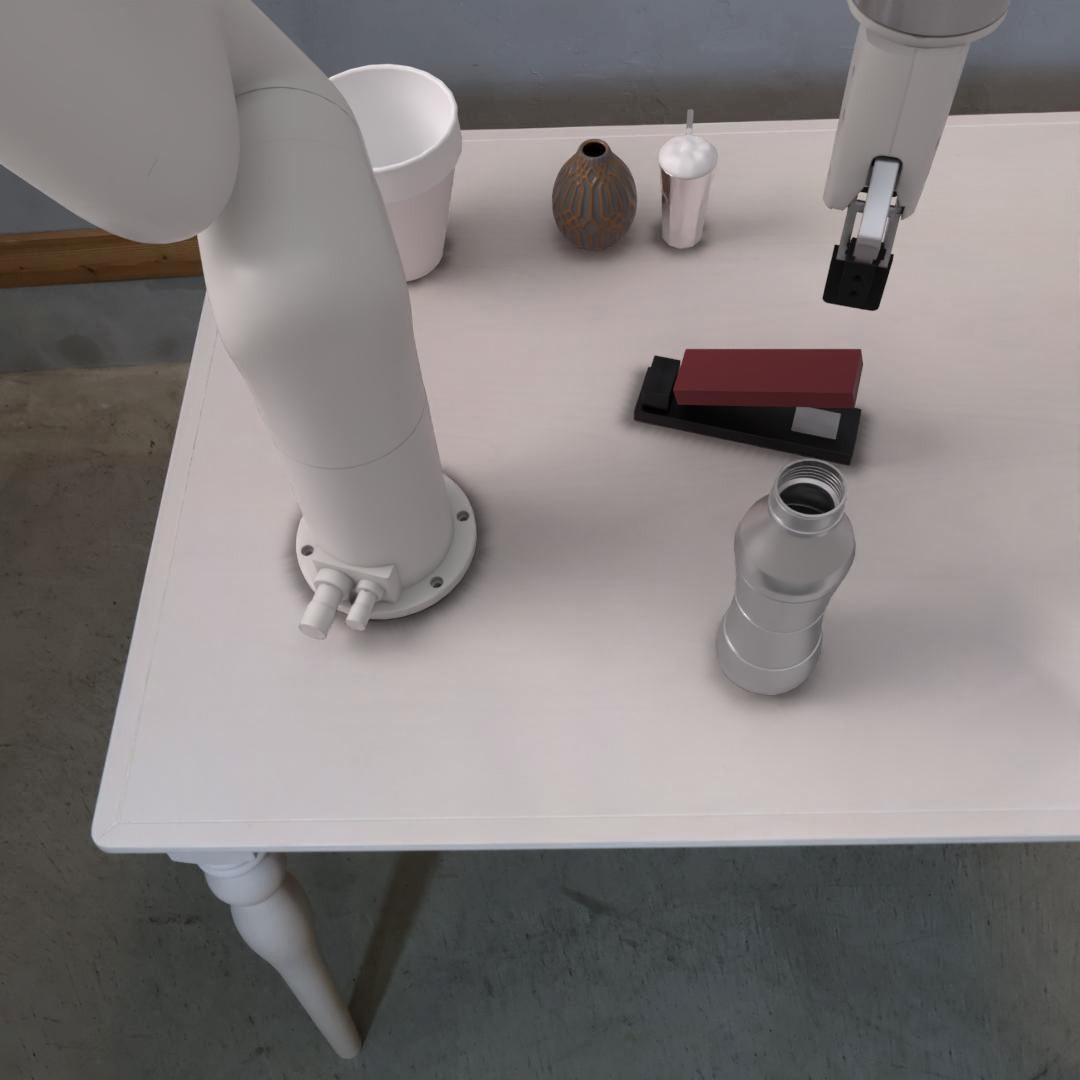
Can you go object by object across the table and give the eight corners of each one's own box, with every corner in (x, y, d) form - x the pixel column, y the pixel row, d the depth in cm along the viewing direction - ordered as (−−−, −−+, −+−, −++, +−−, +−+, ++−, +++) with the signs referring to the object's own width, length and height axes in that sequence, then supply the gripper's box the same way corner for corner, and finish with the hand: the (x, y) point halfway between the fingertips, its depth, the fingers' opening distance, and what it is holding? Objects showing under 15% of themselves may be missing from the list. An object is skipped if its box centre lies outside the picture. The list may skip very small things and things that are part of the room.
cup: (311, 228, 96) (271, 91, 85) (445, 185, 98) (424, 45, 87) (356, 326, 90) (320, 192, 79) (498, 277, 92) (483, 140, 81)
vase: (540, 220, 96) (535, 134, 88) (614, 196, 97) (615, 109, 89) (573, 273, 92) (570, 189, 85) (649, 248, 93) (654, 162, 86)
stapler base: (858, 418, 83) (867, 392, 81) (849, 465, 81) (857, 440, 78) (647, 376, 86) (649, 349, 84) (633, 420, 84) (634, 394, 81)
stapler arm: (863, 364, 78) (861, 348, 77) (854, 408, 76) (852, 392, 75) (690, 363, 83) (685, 348, 82) (677, 405, 81) (672, 390, 80)
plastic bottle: (836, 674, 73) (907, 503, 56) (748, 724, 71) (794, 565, 54) (776, 598, 76) (827, 415, 59) (692, 645, 74) (718, 470, 57)
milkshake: (709, 210, 95) (720, 110, 87) (708, 255, 93) (719, 157, 84) (656, 208, 96) (661, 108, 87) (653, 253, 93) (658, 155, 84)
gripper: (877, -137, 57) (822, 141, 72) (822, 75, 49) (772, 341, 64) (1030, -121, 56) (942, 159, 71) (1000, 100, 48) (908, 366, 62)
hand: (862, 245), depth 67 cm, fingers open, 9 cm apart
